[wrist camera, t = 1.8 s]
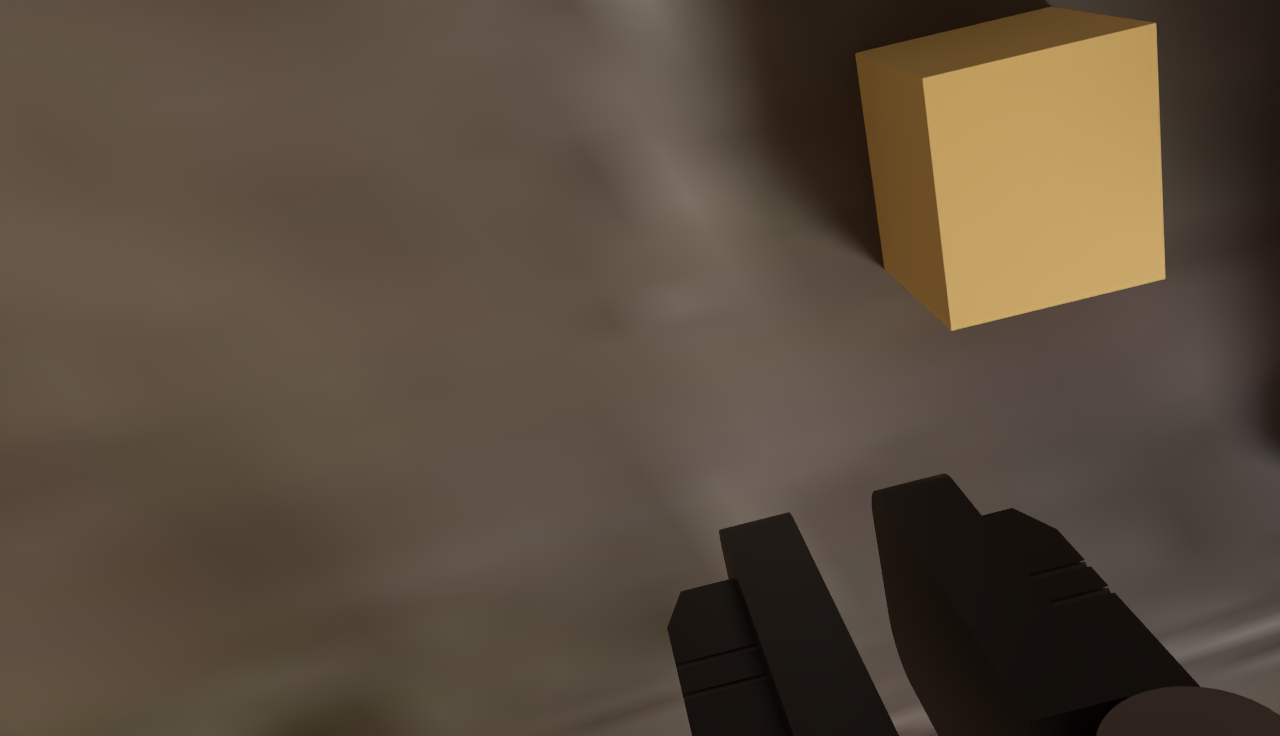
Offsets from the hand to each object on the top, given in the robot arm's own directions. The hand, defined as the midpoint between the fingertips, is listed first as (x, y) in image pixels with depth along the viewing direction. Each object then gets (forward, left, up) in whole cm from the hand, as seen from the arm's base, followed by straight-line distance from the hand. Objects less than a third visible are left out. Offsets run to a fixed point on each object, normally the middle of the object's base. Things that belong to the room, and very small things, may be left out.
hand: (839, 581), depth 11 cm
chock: (0, +7, -15) cm, 17 cm away
